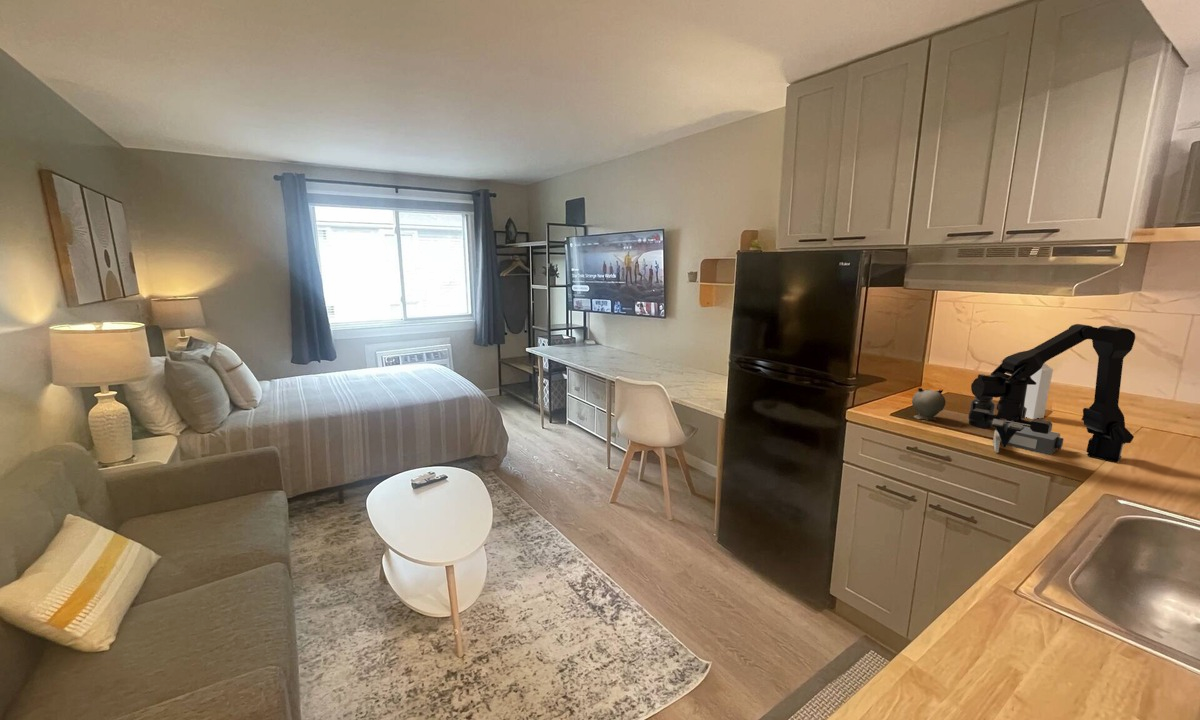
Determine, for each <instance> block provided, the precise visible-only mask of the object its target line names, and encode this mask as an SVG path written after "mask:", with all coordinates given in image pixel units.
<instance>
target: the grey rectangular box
mask: <svg viewBox="0 0 1200 720" xmlns="http://www.w3.org/2000/svg"><path fill="white" fill-rule="evenodd" d="M1009 426H1011V425H1010V423H1009V425H1008V427H1009ZM995 431H997V429H996V428H995V429H994V434H993V436H994V435H995ZM999 436H1000V435H999ZM992 439H993V440H992V442H993V441H994V437H993V438H992ZM1000 443H1001V445H1003V444H1002V441H1001V438H1000ZM1008 445H1009V447H1012V448H1017V449H1021V450H1025V451H1030V452H1034V453H1038V454H1041V455H1042V454H1043V455H1046V456H1052V455H1053V454H1054V453H1055V452H1056V451H1057V450H1061V449H1062V448H1063V445H1064V437H1061V433H1059V432H1055V431H1050V432H1049V433H1048V434H1044V433H1039V432H1033V431H1032V430H1031V429H1030V427H1026V426H1024V429H1023V430H1021V431H1017V432H1016V433H1015V434H1014V435H1013V436H1012V438H1011V439H1010V441H1009V443H1008V444H1007V446H1008Z"/></svg>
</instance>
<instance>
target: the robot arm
mask: <svg viewBox="0 0 1200 720" xmlns="http://www.w3.org/2000/svg"><path fill="white" fill-rule="evenodd" d="M1086 340H1091V341H1092V348H1093V349H1094V351H1095V353H1096V355H1097V356H1098V361H1097V369H1096V381H1095V390H1094V398H1093V399H1094V400H1093V403H1092V404H1091V405H1090V406H1089V407H1084V408H1083V409H1082V418H1081V421H1083V425H1084V426H1085V427H1086V430H1087V434H1091V435H1092V436H1091V438H1089V440H1088V443H1087V448H1086V453H1087V454H1086V456H1087V457H1091V458H1094V459H1099V460H1104V461H1109V462H1114V463H1119V462H1120V460H1121V459H1122V451H1123V447H1124V445H1125V444H1131V442H1132V441H1133V440H1134V438H1135V436H1134V435H1133V434H1132V433H1131V432H1130V431H1129V430H1128V429H1127V427H1126V422H1125V419H1126V418H1125V415H1124V413H1123V412H1122V410H1121V408H1120V407H1119V402H1120V401H1119V400H1120V392H1121V383H1122V375H1123V366H1124V365H1123V364H1124V359H1125V358H1126V356H1128V354H1129V353H1130V352H1131V351H1132V350H1133V346H1134V344H1135V341H1136V334H1135V332H1133V330H1132V329H1129V328H1127V327H1120V326H1119V327H1118V326H1112V325H1101V326H1099V327H1096V326H1092V325H1090V324H1089V325H1088V324H1079V323H1076V324H1072V325H1070V326H1069V327H1068V328H1067V329H1065V330H1063V331H1062V332H1060V333H1058V334H1056V335H1055V336H1053V337H1051V338H1049V339H1048V340H1046V341H1044V342H1042V343H1040V344H1039V345H1037V346H1035V347H1032V348H1030V349H1028V350H1023V351H1019V352H1016V353H1013V354H1010V355H1008V356H1006V357H1004V358H1003V360H1002V361H1001V362H1002V363H1000V365H998V366H997V367H996V368H995V369H994V370H993V371H992V372H991V373H990V375H989V374H987V375H986V374H981V373H979V374H978V375H977V377H976V378H975V379H974V380H973V381H972V383H971V385H970V387H971V388H970V389H971V393H972V395H973V396H974V397H975V396H976V397H993V398H996V399H997V398H999V400H998V402H997V404H996V407H995V410H997V414H995V413H994V414H990V412H989V410H983V409H978V408H976V409H974V410H972V411H970V410H969V413H968V420H969V419H971V420H976V421H981V420H983V419H989V420H993V424H992V427H995V429H997V431H998V433H999V435H1000V438H1001V441H1002V444H1001V445H1002V447H1003V448H1004V449H1005V448H1007V446H1008V445H1007V444H1008V443H1009V441H1010V439H1011V438H1012V436H1013V435H1014V434H1015V433H1016V432H1017V431H1021V430H1023V429H1024V426H1026V427H1030V429H1031V430H1032V431H1033V432H1039V433H1044V434H1048V433H1049V432H1053V431H1052V430H1053V423H1052V422H1051V421H1050V420H1047V419H1041V418H1039V419H1032V420H1026V417H1025V415H1026V411H1027V409H1026V408H1025V407H1024V404H1025V397H1026V391H1027V385H1036V382H1035V381H1033V380H1032V379H1031V377H1030V376H1032V375H1033V374H1035V373H1036V372H1037V371H1039V370H1040V369H1041V368H1042V366H1043V364H1044V363H1045V364H1046V362H1047V361H1049V360H1051V359H1054V358H1055V357H1056V356H1059V355H1060V354H1062V353H1064V352H1066V351H1068V350H1070V349H1072V348H1073V347H1075V346H1077V345H1078V344H1081V343H1083V342H1084V341H1086ZM1009 423H1010V425H1011V426H1009V427H1008V425H1009Z"/></svg>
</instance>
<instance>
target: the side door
mask: <svg viewBox="0 0 1200 720" xmlns="http://www.w3.org/2000/svg"><path fill="white" fill-rule="evenodd" d="M994 432H995V435H994V434H993V438H994V441H993V440H992V443H993V449H994V453H996V454H997V453H999V450H1000V436H999V433H998V431H995V430H994Z"/></svg>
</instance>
